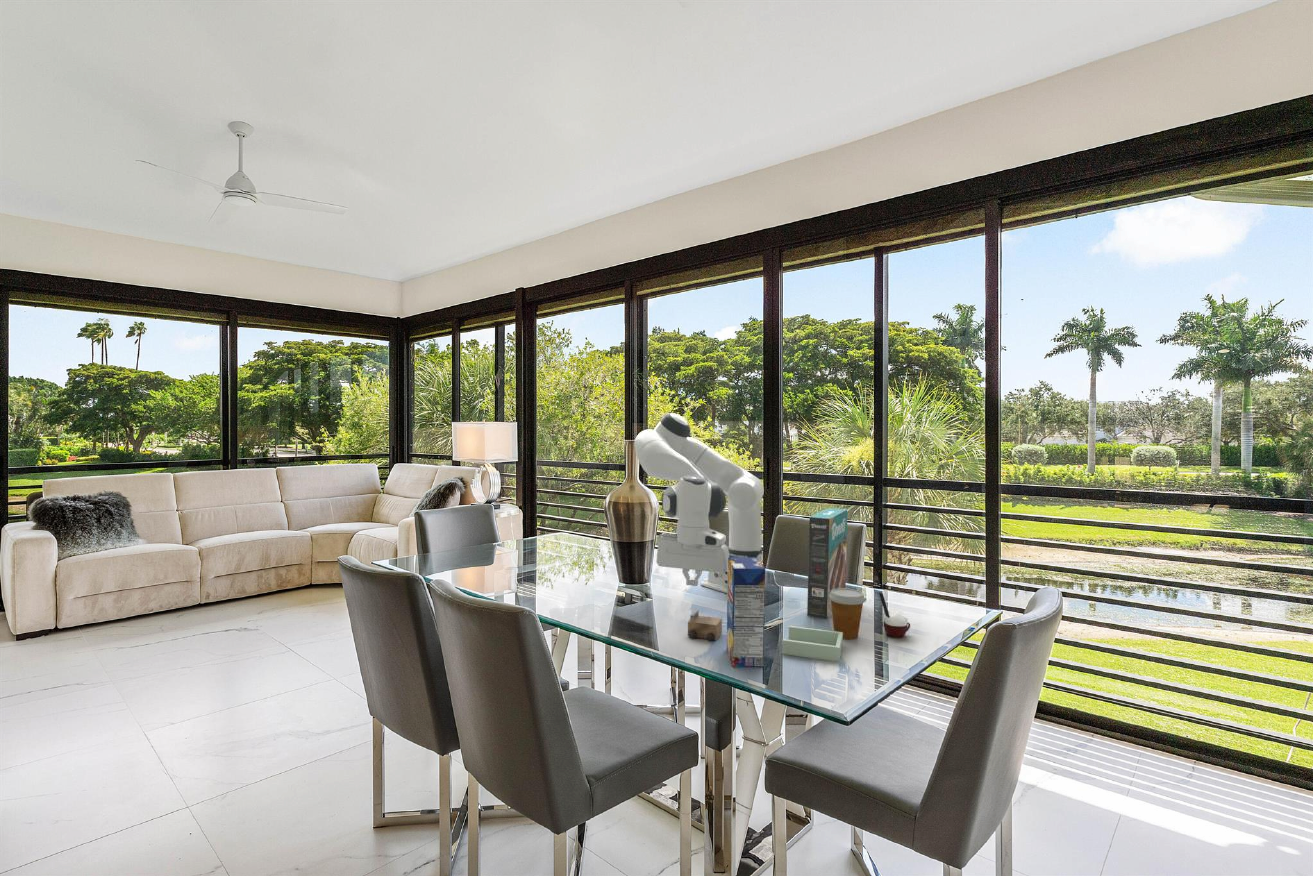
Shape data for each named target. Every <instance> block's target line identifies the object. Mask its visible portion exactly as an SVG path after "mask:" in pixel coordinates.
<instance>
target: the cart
mask: <svg viewBox="0 0 1313 876" xmlns="http://www.w3.org/2000/svg"><path fill="white" fill-rule="evenodd" d="M722 629H723V618H720V617H713V616H712V617H711V616H707V615H706V616H705V615H699V609H698V610H697V609H695V610H694V612H692V613H691V614H690V619H689V620H688V621H687V637H689V638H690V639H695V638H699V639H707V641H709V642H712V641H714V640H715V641H717V639H719V637H720V636H721V634H722V633H723V630H722Z"/></svg>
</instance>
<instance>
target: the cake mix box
mask: <svg viewBox="0 0 1313 876" xmlns="http://www.w3.org/2000/svg"><path fill="white" fill-rule="evenodd" d="M848 510H849V509H848V508H847V509H846V508H836V507H828V508H826V509H824V510H821V511H819V512H817V513H814V514H813V515H810V516H809V518H808V519H809V521H808V524H809V526H808V559H807V561H808V564H807V565H808V566H807V568H808V569H807V603H806V604H807V605H806V606H807V607H806V608H807V610H806V611H807V613H806V617H807V616H808V617H811V618H819V619H825V620H828V619H829V618H831V617H832V607H831V600H830V597H829V594H830V593H831V590H833V589H837V588H847V587H846V583H847V582H846V581H847V547H848V546H847V544H848Z"/></svg>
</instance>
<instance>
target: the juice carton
mask: <svg viewBox="0 0 1313 876" xmlns="http://www.w3.org/2000/svg"><path fill="white" fill-rule="evenodd" d="M765 595H766V568H765V566H764V565H763V562H762V563H761V562H760V561H759V559H758V558H750V557H728V594H727V599H726V601H727V602H726V603H727V604H726V605H727V606H726V607H727V608H726V609H727V611H726V615H727V616H726V652H727V655H728V658H729V662H730V665H731V667H732V668H737V669H738V668H741V669H743V668H744V669H745V668H748V669H749V668H750V669H751V668H752V669H754V668H755V669H763V668H764V653H765V652H764V650H765V647H764V645H765V643H764V642H765V608H766V607H765V602H766V601H765V600H766V596H765Z"/></svg>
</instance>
